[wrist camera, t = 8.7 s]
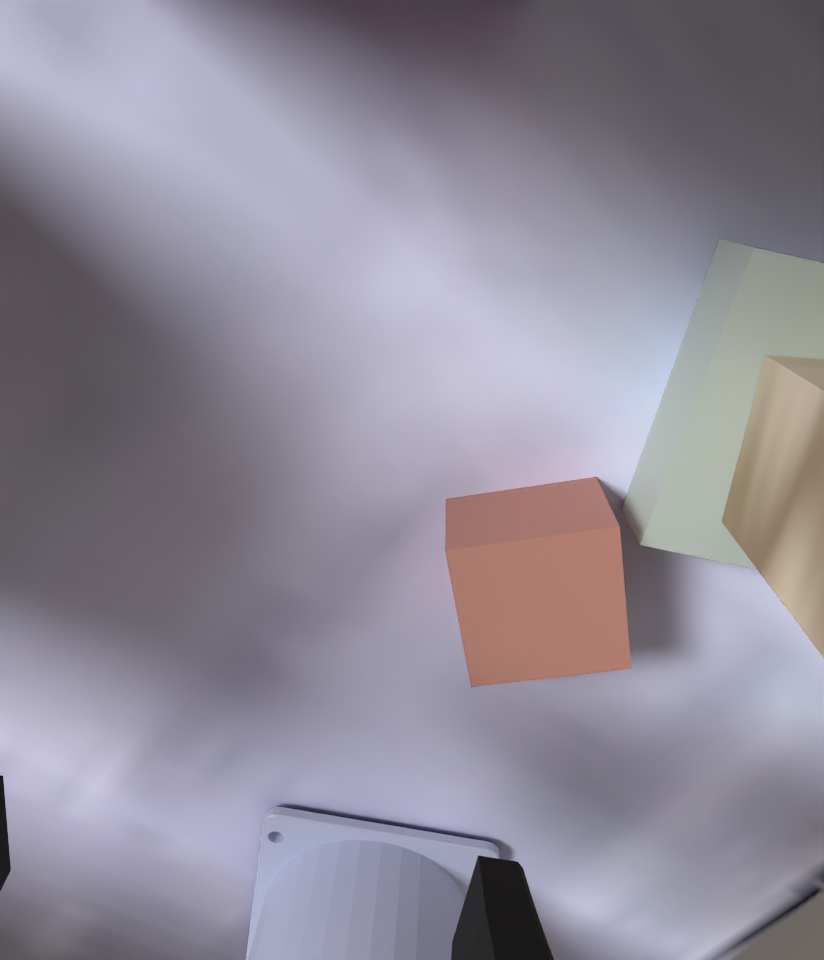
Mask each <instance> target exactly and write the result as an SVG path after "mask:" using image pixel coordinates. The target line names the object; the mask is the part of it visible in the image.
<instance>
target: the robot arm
mask: <svg viewBox="0 0 824 960" xmlns="http://www.w3.org/2000/svg"><path fill="white" fill-rule="evenodd" d="M275 831H277V832H279V833H277V832H275ZM10 870H11V868H10V856H9V844H8V832H7V820H6V808H5V796H4V783H3V776H0V891H1V889H2V887H3V885H4V883H5V881H6V878H7V876H8V874H9V872H10ZM246 960H554V959H553V956H552V954H551V951H550V948H549V945H548V943H547V940H546V937H545V935H544V932H543V929H542V926H541V923H540V920H539V917H538V914H537V911H536V908H535V906H534V903H533V899H532V896H531V893H530V890H529V887H528V884H527V880H526V877H525V874H524V870H523V868H522V867H521V865H520V864H519V863H518V862H515V861H509V860H503V859H500V855H499V849H498V847H497V846H496V845H494V844H493V843H491V842H487V841H482V840H476V839H470V838H464V837H458V836H452V835H446V834H440V833H434V832H428V831H422V830H416V829H410V828H404V827H398V826H392V825H386V824H380V823H374V822H368V821H362V820H356V819H350V818H344V817H338V816H332V815H326V814H320V813H314V812H308V811H302V810H296V809H291V808H285V807H273V808H270V809H269V810H267V811H266V813H265V816H264V819H263V823H262V831H261V840H260V848H259V856H258V864H257V873H256V881H255V889H254V897H253V906H252V914H251V922H250V930H249V938H248V947H247V955H246Z"/></svg>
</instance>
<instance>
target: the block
mask: <svg viewBox="0 0 824 960" xmlns="http://www.w3.org/2000/svg"><path fill="white" fill-rule="evenodd" d="M445 551H446V557H447V562H448V567H449V573H450V578H451V583H452V588H453V594H454V599H455V604H456V609H457V615H458V620H459V625H460V630H461V636H462V641H463V646H464V651H465V657H466V662H467V667H468V672H469V678H470V683H471V687H474V686H482V685H491V684H500V683H509V682H518V681H526V680H535V679H544V678H553V677H561V676H570V675H579V674H588V673H597V672H605V671H614V670H623V669H631V659H630V646H629V634H628V621H627V609H626V596H625V584H624V572H623V559H622V547H621V534H620V526H619V524H618V521H617V519H616V517H615V515H614V513H613V511H612V509H611V507H610V505H609V502H608V500H607V498H606V496H605V494H604V492H603V490H602V488H601V486H600V483H599V481H598V479H597V477H593V478H586V479H579V480H572V481H565V482H559V483H552V484H545V485H538V486H531V487H524V488H518V489H511V490H504V491H497V492H490V493H484V494H477V495H470V496H463V497H456V498H450V499H446V540H445Z"/></svg>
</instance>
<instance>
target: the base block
mask: <svg viewBox="0 0 824 960" xmlns="http://www.w3.org/2000/svg"><path fill="white" fill-rule="evenodd" d="M765 355H769V356H784V357H798V358H812V359H824V262H821V261H816V260H812V259H807V258H803V257H798V256H794V255H789V254H785V253H780V252H776V251H771V250H767V249H763V248H758V247H754V246H749V245H745V244H740V243H736V242H731V241H727V240H722V239H719V241H718V244H717V247H716V250H715V252H714V255H713V258H712V261H711V263H710V266H709V269H708V272H707V275H706V277H705V280H704V283H703V286H702V288H701V291H700V294H699V297H698V299H697V302H696V305H695V308H694V310H693V313H692V316H691V319H690V321H689V324H688V327H687V330H686V332H685V335H684V338H683V341H682V344H681V346H680V349H679V352H678V355H677V357H676V360H675V363H674V366H673V368H672V371H671V374H670V377H669V379H668V382H667V385H666V388H665V390H664V393H663V396H662V399H661V401H660V404H659V407H658V410H657V412H656V415H655V418H654V421H653V424H652V426H651V429H650V432H649V435H648V437H647V440H646V443H645V446H644V448H643V451H642V454H641V457H640V459H639V462H638V465H637V468H636V470H635V473H634V476H633V479H632V481H631V484H630V487H629V490H628V493H627V495H626V498H625V501H624V504H623V506H622V510H623V512H624V514H625V516H626V518H627V520H628V522H629V524H630V526H631V528H632V530H633V532H634V534H635V536H636V538H637V540H638V542H639V544H640V545H642V546H647V547H652V548H657V549H662V550H666V551H671V552H676V553H681V554H686V555H690V556H695V557H700V558H705V559H709V560H714V561H719V562H724V563H729V564H733V565H738V566H743V567H748V568H753V569H756V567H755V566H754V565H753V563H752V562H751V561H750V559H749V558H748V557H747V555H746V554H745V553H744V551H743V550H742V549H741V547H740V546H739V545H738V543H737V542H736V541H735V539H734V538H733V537H732V535H731V534H730V533H729V531H728V530H727V529H726V527H725V526H724V525H723V523H722V522H721V521H722V517H723V514H724V510H725V506H726V502H727V498H728V495H729V491H730V487H731V483H732V480H733V476H734V472H735V468H736V465H737V461H738V457H739V453H740V450H741V446H742V442H743V438H744V434H745V431H746V427H747V423H748V419H749V416H750V412H751V408H752V404H753V401H754V397H755V393H756V389H757V386H758V382H759V378H760V374H761V371H762V367H763V363H764V359H765Z"/></svg>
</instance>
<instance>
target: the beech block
mask: <svg viewBox="0 0 824 960" xmlns="http://www.w3.org/2000/svg"><path fill="white" fill-rule="evenodd" d="M721 522H722V523H723V525H724V526H725V527H726V529H727V530H728V531H729V533H730V534H731V535H732V537H733V538H734V539H735V541H736V542H737V543H738V545H739V546H740V547H741V549H742V550H743V551H744V553H745V554H746V555H747V557H748V558H749V559H750V561H751V562H752V563H753V565H754V566H755V567H756V569H757V570H758V571H759V572H760V574H761V575H762V576H763V578H764V579H765V580H766V582H767V583H768V584H769V586H770V587H771V588H772V590H773V591H774V592H775V594H776V595H777V596H778V598H779V599H780V600H781V602H782V603H783V604H784V606H785V607H786V608H787V610H788V611H789V612H790V614H791V615H792V616H793V618H794V619H795V620H796V622H797V623H798V624H799V626H800V627H801V628H802V630H803V631H804V632H805V634H806V635H807V636H808V638H809V639H810V640H811V642H812V643H813V644H814V646H815V647H816V648H817V650H818V651H819V652H820V654H821V655H822V656H823V658H824V359H812V358H798V357H784V356H769V355H765V359H764V363H763V367H762V371H761V374H760V378H759V382H758V386H757V389H756V393H755V397H754V401H753V404H752V408H751V412H750V416H749V419H748V423H747V427H746V431H745V434H744V438H743V442H742V446H741V450H740V453H739V457H738V461H737V465H736V468H735V472H734V476H733V480H732V483H731V487H730V491H729V495H728V498H727V502H726V506H725V510H724V514H723V517H722V521H721Z"/></svg>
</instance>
